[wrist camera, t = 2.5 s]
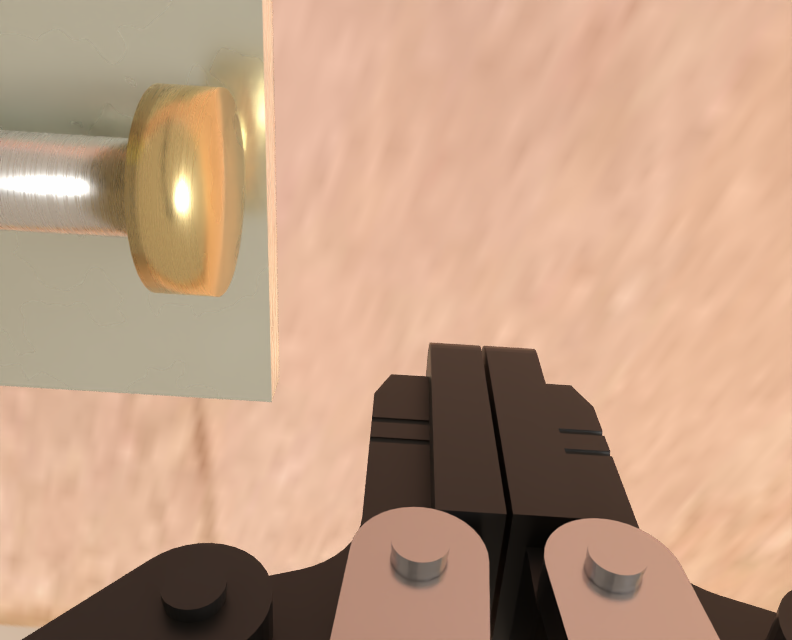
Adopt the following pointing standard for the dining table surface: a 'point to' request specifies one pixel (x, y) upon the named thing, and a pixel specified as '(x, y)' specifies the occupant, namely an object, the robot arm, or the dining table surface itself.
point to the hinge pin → (141, 187)
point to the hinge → (110, 256)
